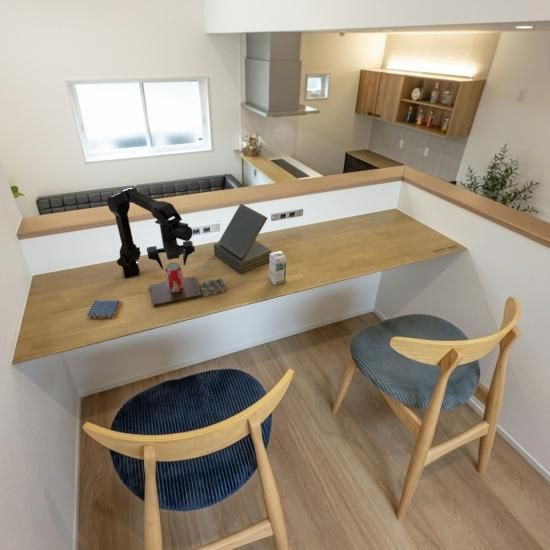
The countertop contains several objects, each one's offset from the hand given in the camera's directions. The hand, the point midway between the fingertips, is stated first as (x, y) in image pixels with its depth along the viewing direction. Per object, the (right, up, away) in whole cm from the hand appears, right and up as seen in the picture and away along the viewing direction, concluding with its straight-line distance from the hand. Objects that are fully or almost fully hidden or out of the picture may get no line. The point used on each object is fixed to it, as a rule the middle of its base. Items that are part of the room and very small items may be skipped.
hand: (173, 266), depth 155 cm
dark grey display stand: (+27, +5, +32) cm, 42 cm away
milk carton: (+44, -6, +15) cm, 48 cm away
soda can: (0, -10, +5) cm, 11 cm away
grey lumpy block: (+16, -10, +8) cm, 20 cm away
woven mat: (-27, -18, -6) cm, 33 cm away
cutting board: (-1, -11, +6) cm, 13 cm away
